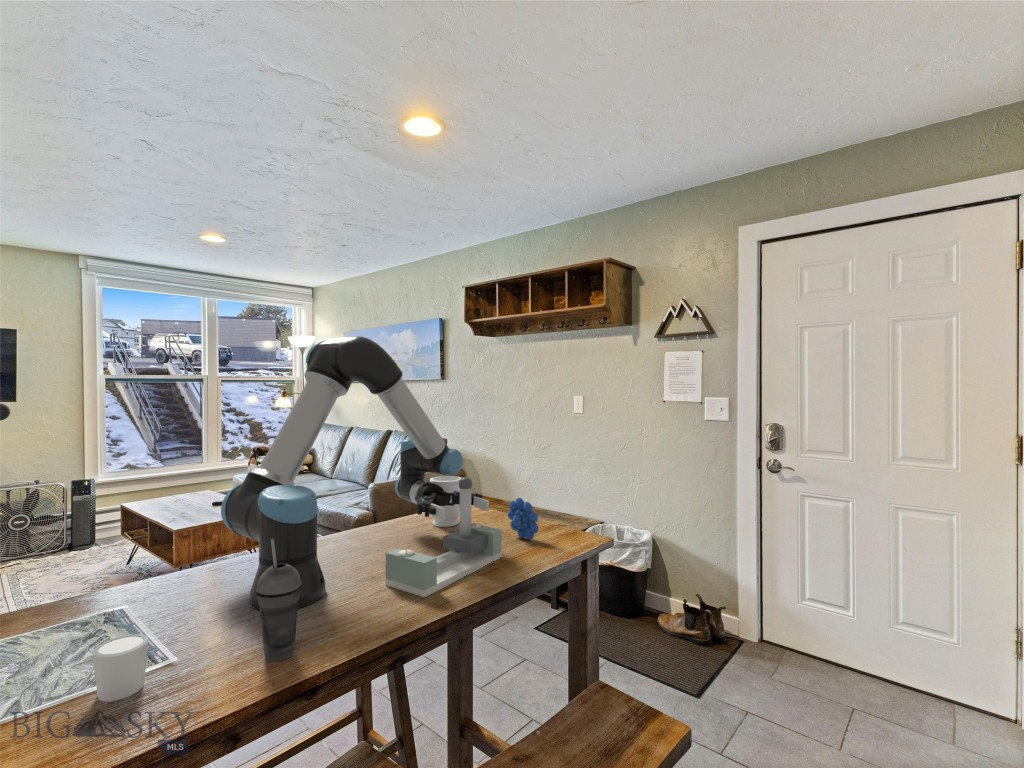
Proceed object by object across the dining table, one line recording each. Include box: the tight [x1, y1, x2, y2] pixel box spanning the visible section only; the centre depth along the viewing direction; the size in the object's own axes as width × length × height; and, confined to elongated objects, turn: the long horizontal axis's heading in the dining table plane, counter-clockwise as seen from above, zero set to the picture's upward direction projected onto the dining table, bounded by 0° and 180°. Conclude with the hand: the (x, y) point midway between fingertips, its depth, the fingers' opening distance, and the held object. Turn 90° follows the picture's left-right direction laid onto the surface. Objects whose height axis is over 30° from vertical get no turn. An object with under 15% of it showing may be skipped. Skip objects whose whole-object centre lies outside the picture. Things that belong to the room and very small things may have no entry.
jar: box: [429, 475, 462, 528], centre depth 168 cm, size 11×10×15 cm
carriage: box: [442, 476, 487, 554], centre depth 133 cm, size 7×9×18 cm
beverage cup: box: [256, 539, 302, 663], centre depth 88 cm, size 7×7×20 cm
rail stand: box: [385, 522, 503, 598], centre depth 127 cm, size 30×12×8 cm, turn 147°
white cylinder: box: [92, 633, 150, 702], centre depth 78 cm, size 7×7×7 cm
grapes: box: [506, 497, 539, 540], centre depth 152 cm, size 12×7×12 cm, turn 49°
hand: (466, 509), depth 133 cm, fingers open, 13 cm apart
